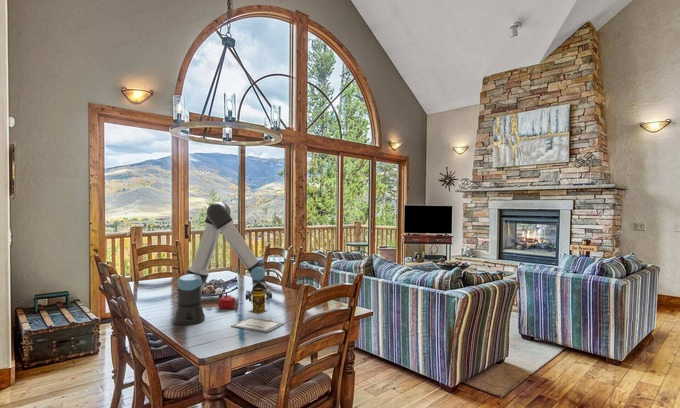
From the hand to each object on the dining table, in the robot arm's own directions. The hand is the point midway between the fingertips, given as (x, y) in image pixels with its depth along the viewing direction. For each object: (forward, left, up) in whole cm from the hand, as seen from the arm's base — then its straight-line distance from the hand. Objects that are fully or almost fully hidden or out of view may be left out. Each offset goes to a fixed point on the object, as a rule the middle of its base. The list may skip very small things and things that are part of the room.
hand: (258, 300), depth 193 cm
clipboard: (-3, +4, -14) cm, 15 cm away
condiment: (-3, +4, -7) cm, 9 cm away
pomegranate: (-38, +22, -14) cm, 46 cm away
